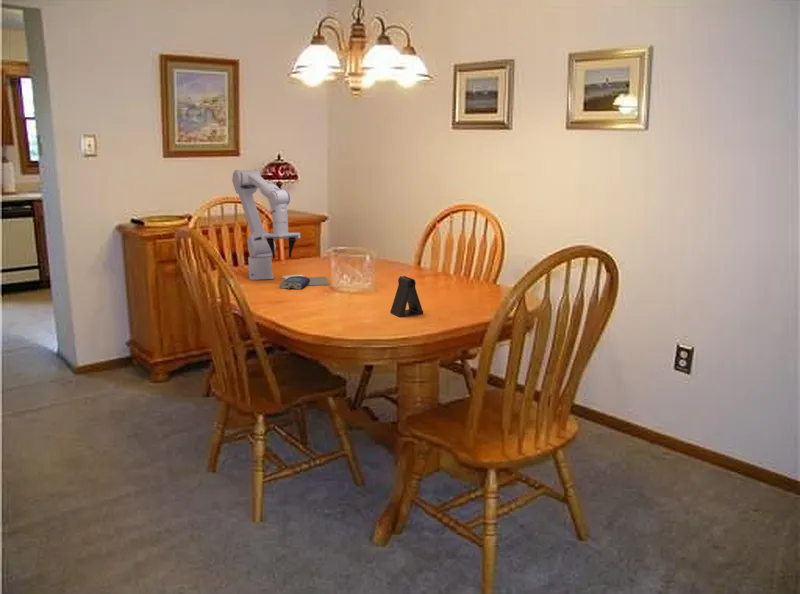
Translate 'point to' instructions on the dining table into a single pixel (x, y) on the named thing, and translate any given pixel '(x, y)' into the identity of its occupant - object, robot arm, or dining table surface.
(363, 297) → the dining table surface
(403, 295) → the phone stand
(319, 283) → the board
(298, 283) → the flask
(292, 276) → the napkin
